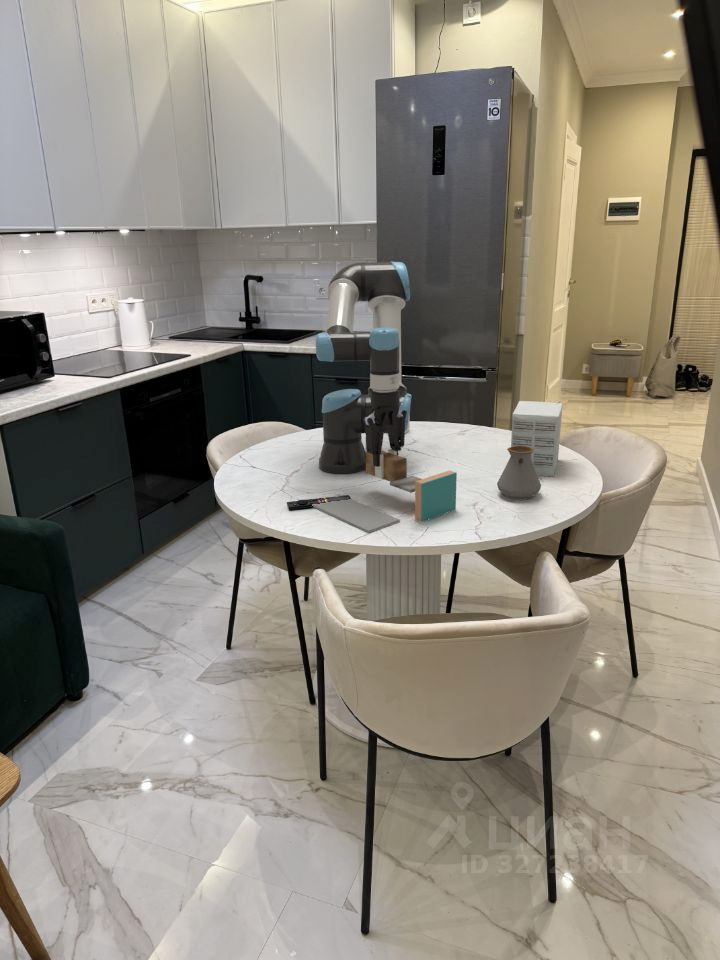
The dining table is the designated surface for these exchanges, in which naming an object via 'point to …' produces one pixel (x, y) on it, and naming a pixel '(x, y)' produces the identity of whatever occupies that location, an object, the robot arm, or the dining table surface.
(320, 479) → the dining table surface
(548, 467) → the supplement box
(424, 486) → the tile
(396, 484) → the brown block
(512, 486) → the coffee pot
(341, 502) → the rest mat
